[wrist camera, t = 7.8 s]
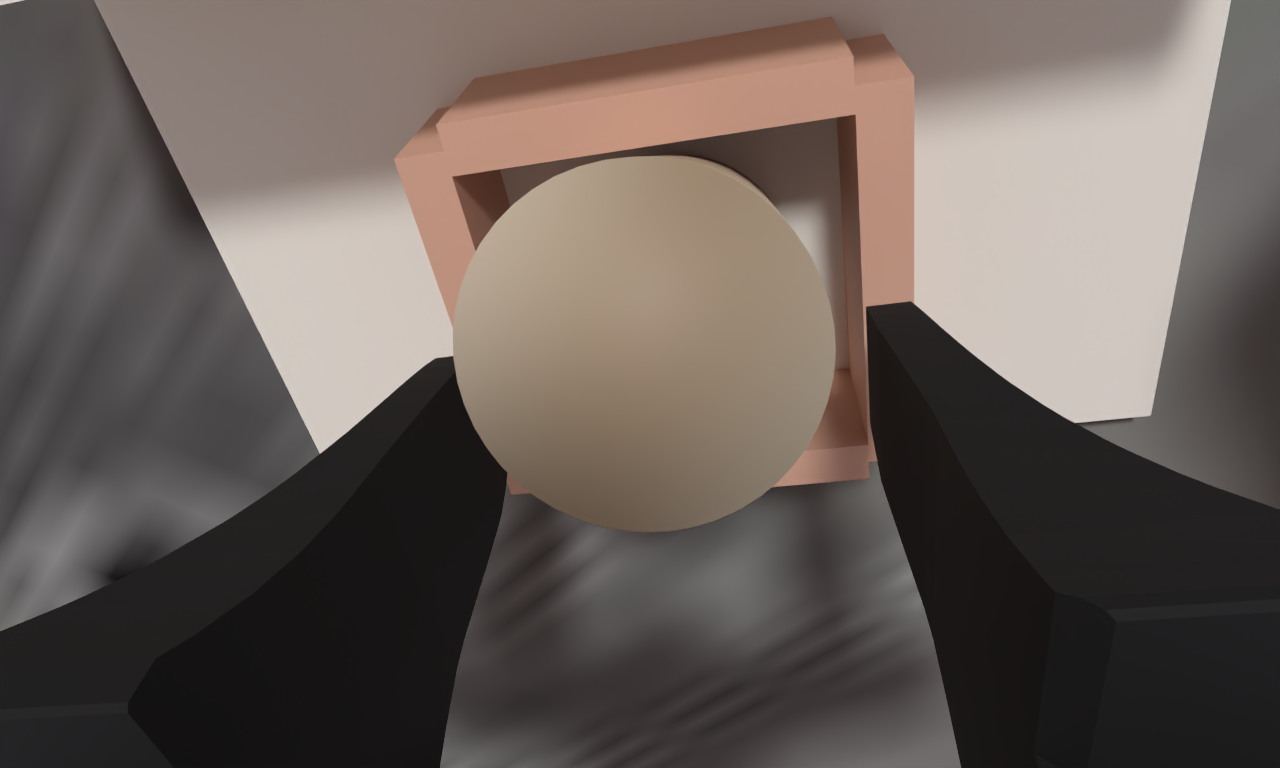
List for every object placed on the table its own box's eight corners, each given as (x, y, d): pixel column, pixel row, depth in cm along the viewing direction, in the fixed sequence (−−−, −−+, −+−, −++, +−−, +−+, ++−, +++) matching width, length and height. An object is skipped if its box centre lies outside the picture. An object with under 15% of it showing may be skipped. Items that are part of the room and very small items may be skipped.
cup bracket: (1282, -374, 11) (1619, -471, 7) (1140, 401, 18) (1268, 581, 14) (64, -101, 14) (-207, -57, 10) (347, 479, 21) (257, 648, 17)
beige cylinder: (826, 202, 15) (902, 243, 8) (741, 405, 16) (746, 584, 9) (615, 121, 15) (518, 97, 8) (544, 329, 16) (409, 454, 9)
